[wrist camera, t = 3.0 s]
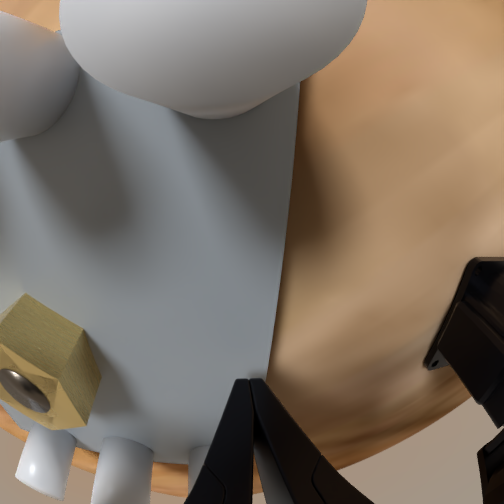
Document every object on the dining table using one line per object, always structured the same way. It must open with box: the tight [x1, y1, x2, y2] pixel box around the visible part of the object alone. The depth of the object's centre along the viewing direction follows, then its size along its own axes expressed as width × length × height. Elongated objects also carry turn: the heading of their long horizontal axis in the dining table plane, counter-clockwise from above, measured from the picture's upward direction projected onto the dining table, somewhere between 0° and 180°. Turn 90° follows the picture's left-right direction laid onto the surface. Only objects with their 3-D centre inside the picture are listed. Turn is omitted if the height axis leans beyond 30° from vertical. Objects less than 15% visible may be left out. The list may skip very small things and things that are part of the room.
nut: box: [0, 293, 102, 430], centre depth 7 cm, size 4×5×2 cm
